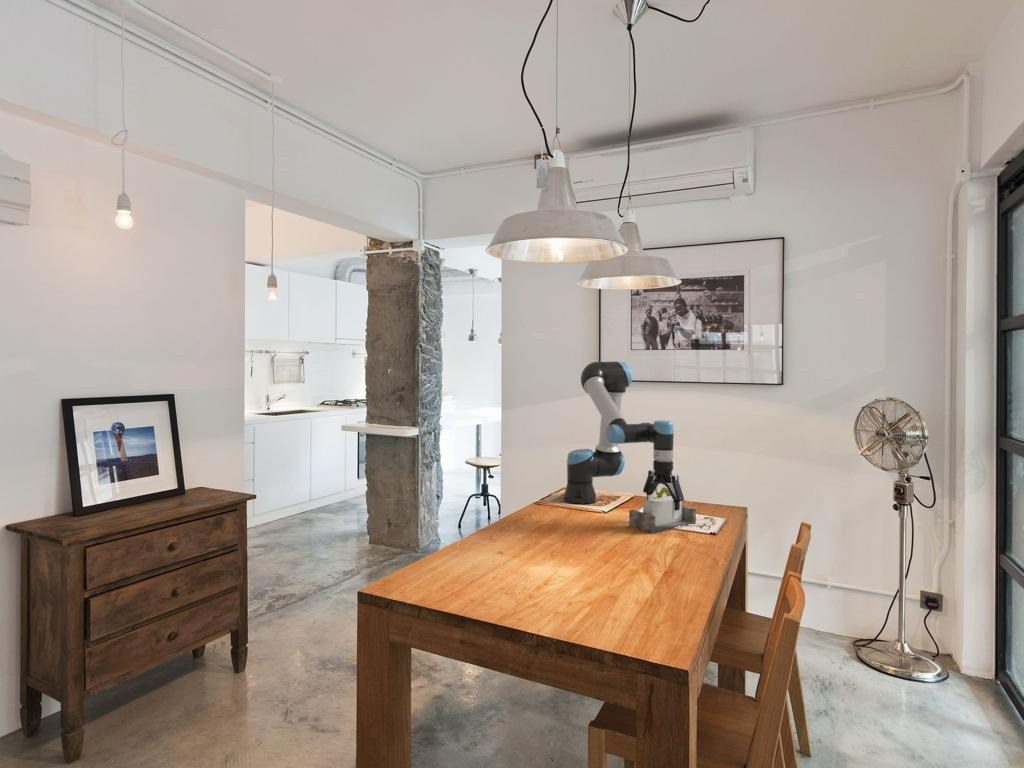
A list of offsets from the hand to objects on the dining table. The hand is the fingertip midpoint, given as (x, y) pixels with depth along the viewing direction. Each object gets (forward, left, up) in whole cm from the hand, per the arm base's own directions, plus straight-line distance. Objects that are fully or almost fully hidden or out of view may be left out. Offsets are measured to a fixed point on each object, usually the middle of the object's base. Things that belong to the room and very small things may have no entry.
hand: (662, 514), depth 235 cm
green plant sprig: (-22, +24, -4) cm, 33 cm away
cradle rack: (0, 0, -4) cm, 4 cm away
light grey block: (0, 0, -3) cm, 3 cm away
